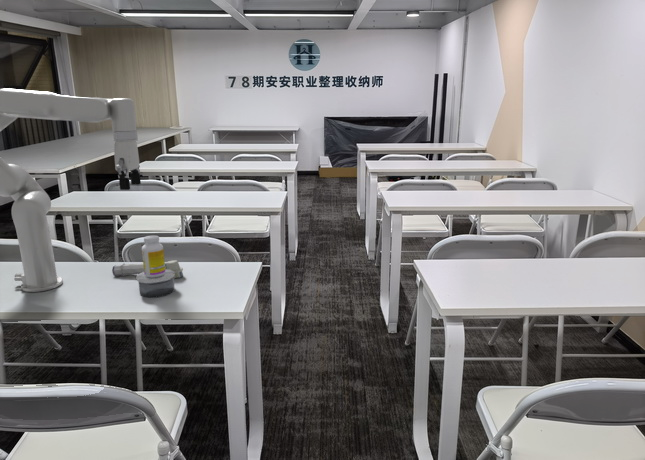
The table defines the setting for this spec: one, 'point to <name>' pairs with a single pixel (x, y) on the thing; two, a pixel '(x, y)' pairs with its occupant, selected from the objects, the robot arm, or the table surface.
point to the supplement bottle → (153, 257)
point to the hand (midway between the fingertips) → (130, 186)
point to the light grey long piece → (139, 268)
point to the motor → (156, 284)
